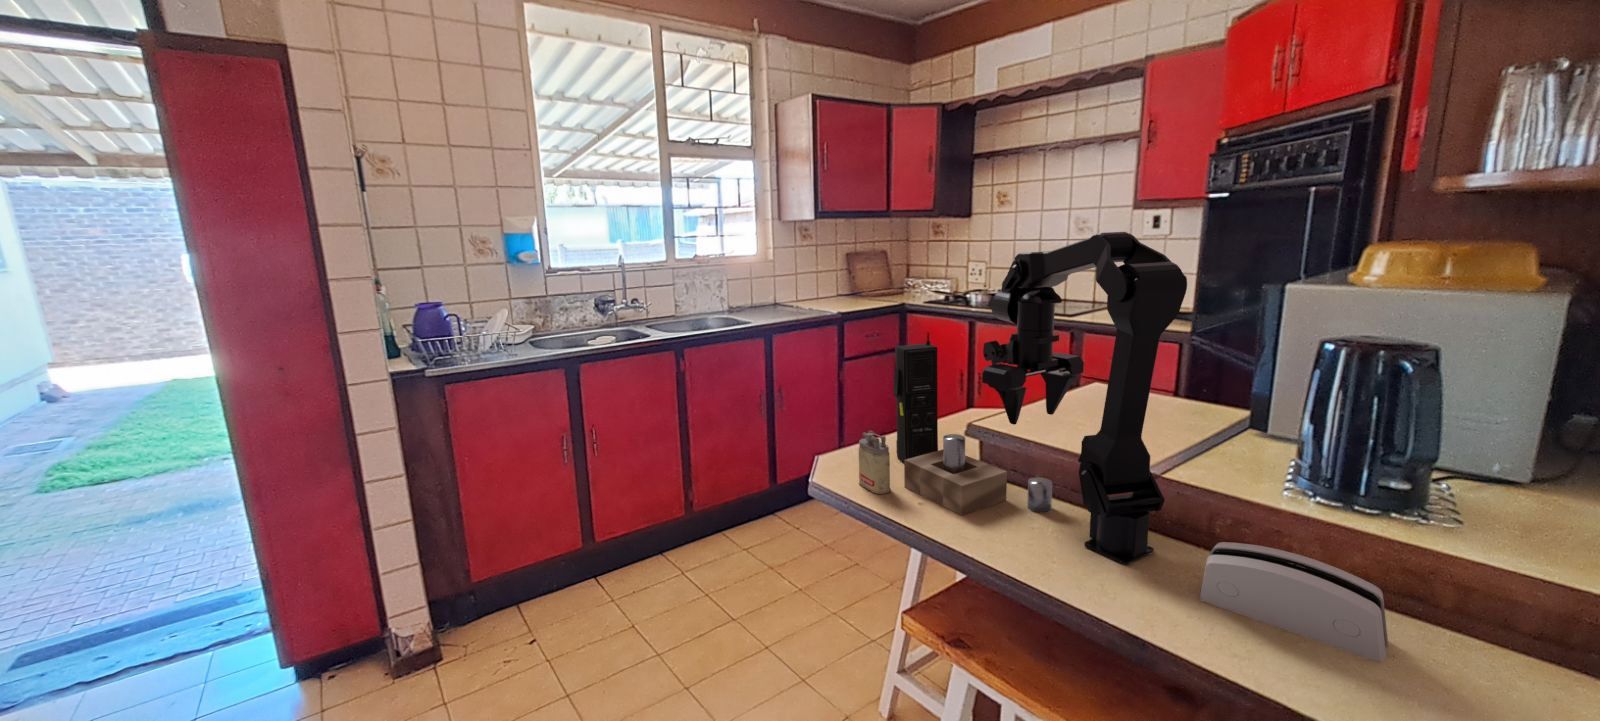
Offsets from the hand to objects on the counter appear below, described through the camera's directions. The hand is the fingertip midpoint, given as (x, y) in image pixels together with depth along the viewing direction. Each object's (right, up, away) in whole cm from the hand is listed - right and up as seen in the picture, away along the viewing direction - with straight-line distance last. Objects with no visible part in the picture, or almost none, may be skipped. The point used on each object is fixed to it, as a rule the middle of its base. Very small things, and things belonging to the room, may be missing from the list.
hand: (1031, 418), depth 108 cm
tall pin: (-13, -13, 0) cm, 18 cm away
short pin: (-1, -14, -6) cm, 15 cm away
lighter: (-26, -13, +4) cm, 29 cm away
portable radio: (-17, -10, +16) cm, 25 cm away
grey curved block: (+15, -20, -37) cm, 45 cm away
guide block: (-13, -13, 0) cm, 18 cm away
